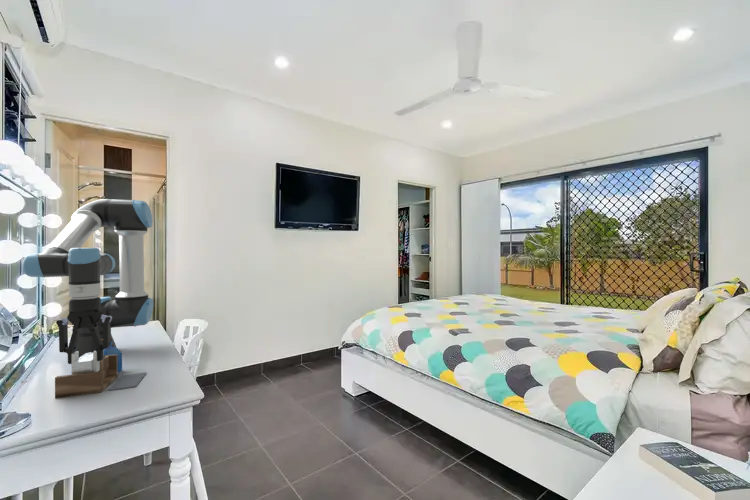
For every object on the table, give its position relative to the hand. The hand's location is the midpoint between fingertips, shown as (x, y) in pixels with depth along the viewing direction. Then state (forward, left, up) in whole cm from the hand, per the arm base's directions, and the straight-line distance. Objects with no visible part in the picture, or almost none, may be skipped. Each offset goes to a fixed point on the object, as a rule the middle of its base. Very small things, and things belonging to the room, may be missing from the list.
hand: (86, 372), depth 106 cm
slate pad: (-2, +10, -5) cm, 12 cm away
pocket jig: (-1, 0, -5) cm, 5 cm away
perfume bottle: (-15, +1, -5) cm, 16 cm away
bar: (-2, 0, +1) cm, 2 cm away
